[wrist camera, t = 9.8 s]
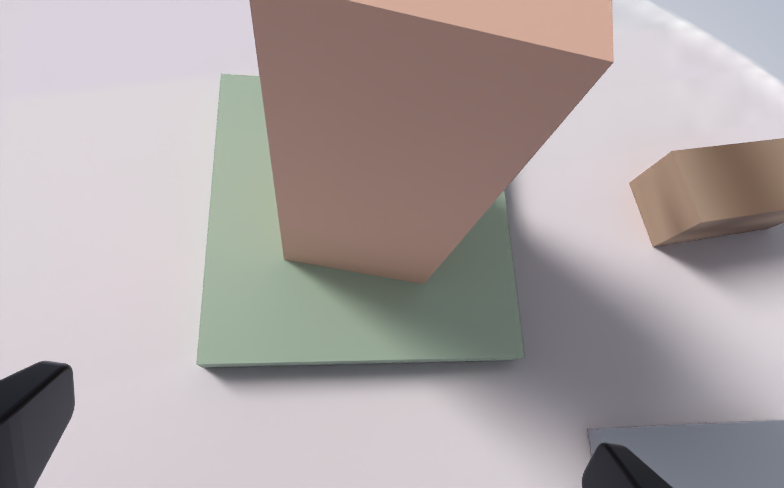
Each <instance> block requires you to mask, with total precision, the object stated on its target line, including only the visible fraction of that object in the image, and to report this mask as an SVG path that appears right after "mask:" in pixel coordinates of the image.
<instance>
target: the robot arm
mask: <svg viewBox="0 0 784 488" xmlns="http://www.w3.org/2000/svg"><path fill="white" fill-rule="evenodd" d="M74 406H75V397H74V382H73V371H72V368H71V366H70V365H68V364H65V363H58V362H51V361H41V362H38V363H36V364H34V365H31V366H29V367H27V368H25V369H23V370H21V371H19V372H16V373H14V374H12V375H10V376H8V377H6V378H4V379H2V380H0V488H34V487H35V485H36V483H37V481H38V479H39V478H40V476H41V474H42V472H43V470H44V468H45V466H46V464H47V462H48V461H49V459H50V457H51V455H52V453H53V451H54V449H55V447H56V446H57V444H58V442H59V440H60V438H61V436H62V434H63V432H64V430H65V429H66V427H67V425H68V423H69V421H70V419H71V417H72V414H73V411H74ZM582 488H673V487H672V486H671V485H669V484H668V483H667V482H666V481H665V480H664V479H663V478H661V477H660V476H659V475H658V474H657V473H656V472H655V471H653V470H652V469H651V468H650V467H649V466H648V465H647V464H645V463H644V462H643V461H642V460H641V459H640V458H639V457H637V456H636V455H635V454H634V453H633V452H632V451H631V450H629V449H628V448H627V447H626V446H624V445H620V444H614V443H607V442H603V443H600V444H599V445H598V446H597V448H596V449H595V451H594V453H593V455H592V457H591V459H590V461H589V463H588V465H587V467H586V469H585V471H584V473H583V477H582Z"/></svg>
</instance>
